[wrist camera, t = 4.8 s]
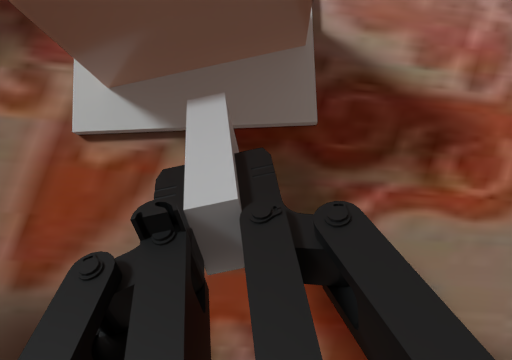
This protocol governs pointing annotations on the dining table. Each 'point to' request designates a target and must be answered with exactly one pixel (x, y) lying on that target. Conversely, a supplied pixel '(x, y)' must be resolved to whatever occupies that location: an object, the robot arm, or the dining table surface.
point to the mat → (203, 94)
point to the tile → (166, 33)
